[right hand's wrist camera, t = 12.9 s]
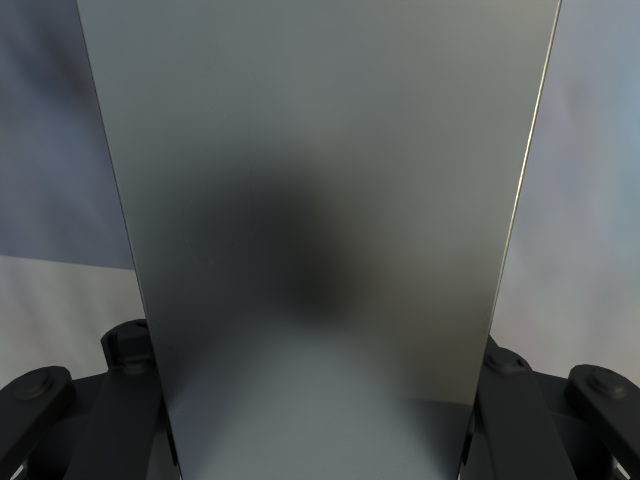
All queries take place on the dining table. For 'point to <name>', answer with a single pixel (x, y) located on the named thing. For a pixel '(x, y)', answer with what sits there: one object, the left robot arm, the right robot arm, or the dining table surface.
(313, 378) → the bar
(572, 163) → the dining table surface
